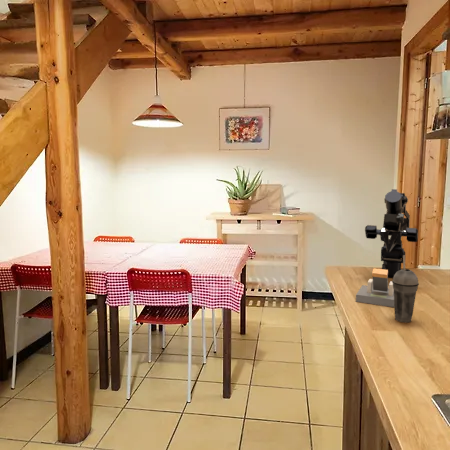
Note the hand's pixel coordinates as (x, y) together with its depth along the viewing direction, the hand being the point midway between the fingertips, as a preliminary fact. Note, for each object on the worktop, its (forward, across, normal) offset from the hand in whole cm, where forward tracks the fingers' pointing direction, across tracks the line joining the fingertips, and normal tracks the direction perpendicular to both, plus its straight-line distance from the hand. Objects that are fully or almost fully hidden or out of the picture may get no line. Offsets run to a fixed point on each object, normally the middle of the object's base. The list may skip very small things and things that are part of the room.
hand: (388, 251), depth 153 cm
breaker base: (+21, 0, -2) cm, 21 cm away
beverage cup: (+33, +9, -13) cm, 36 cm away
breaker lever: (+19, 0, -5) cm, 19 cm away
